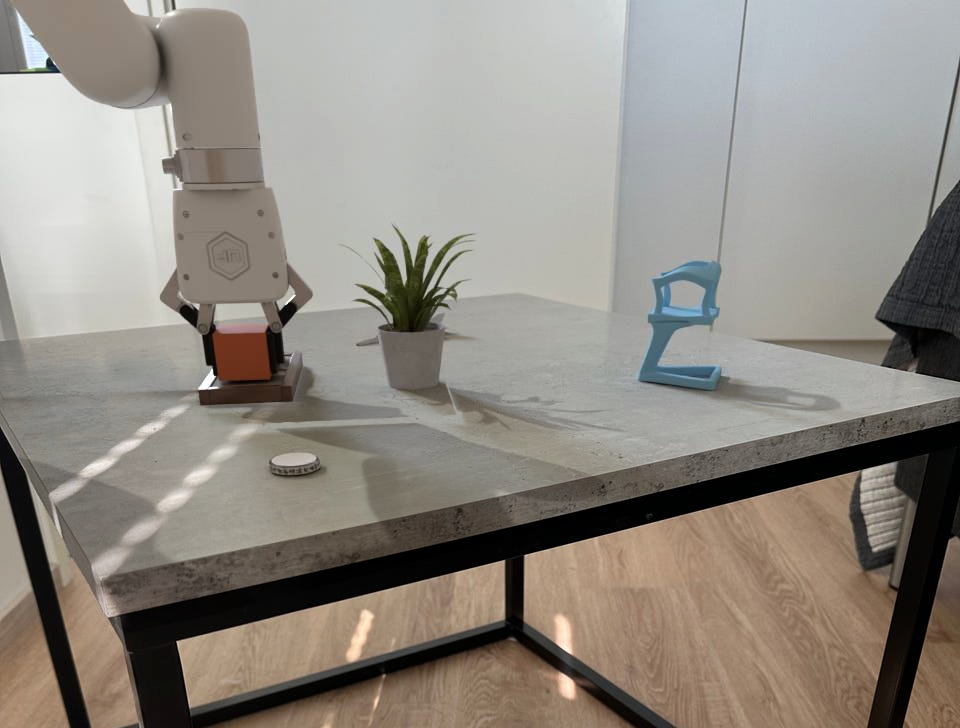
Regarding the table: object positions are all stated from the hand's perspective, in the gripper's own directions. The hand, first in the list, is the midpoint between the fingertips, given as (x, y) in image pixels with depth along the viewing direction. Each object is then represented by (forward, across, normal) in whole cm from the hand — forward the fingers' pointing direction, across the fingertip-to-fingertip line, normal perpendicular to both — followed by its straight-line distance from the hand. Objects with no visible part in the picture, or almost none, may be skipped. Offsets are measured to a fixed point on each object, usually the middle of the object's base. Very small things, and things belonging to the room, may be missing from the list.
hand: (247, 370), depth 93 cm
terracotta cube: (0, 0, 0) cm, 0 cm away
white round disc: (+3, +6, -25) cm, 26 cm away
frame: (+3, 0, +4) cm, 5 cm away
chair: (+3, +45, 0) cm, 45 cm away
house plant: (+3, +18, +1) cm, 18 cm away
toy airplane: (+3, +18, +31) cm, 36 cm away
